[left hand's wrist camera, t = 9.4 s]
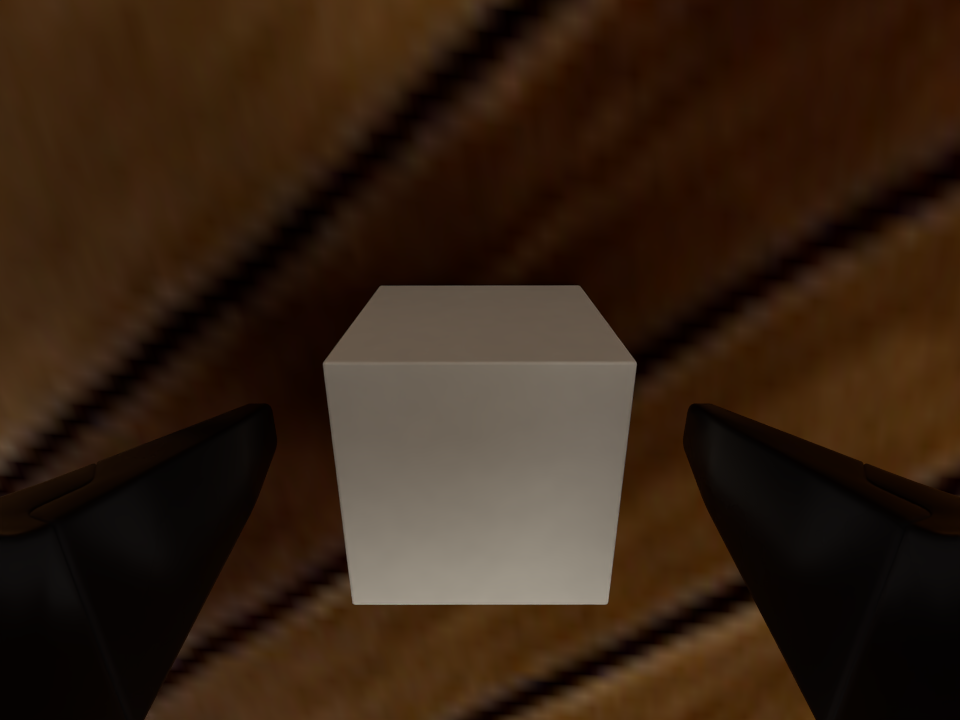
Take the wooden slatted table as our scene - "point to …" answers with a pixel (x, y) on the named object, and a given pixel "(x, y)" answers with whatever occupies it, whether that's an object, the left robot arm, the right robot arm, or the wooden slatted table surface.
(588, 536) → the block
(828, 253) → the wooden slatted table surface
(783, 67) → the wooden slatted table surface
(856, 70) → the wooden slatted table surface
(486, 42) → the wooden slatted table surface
